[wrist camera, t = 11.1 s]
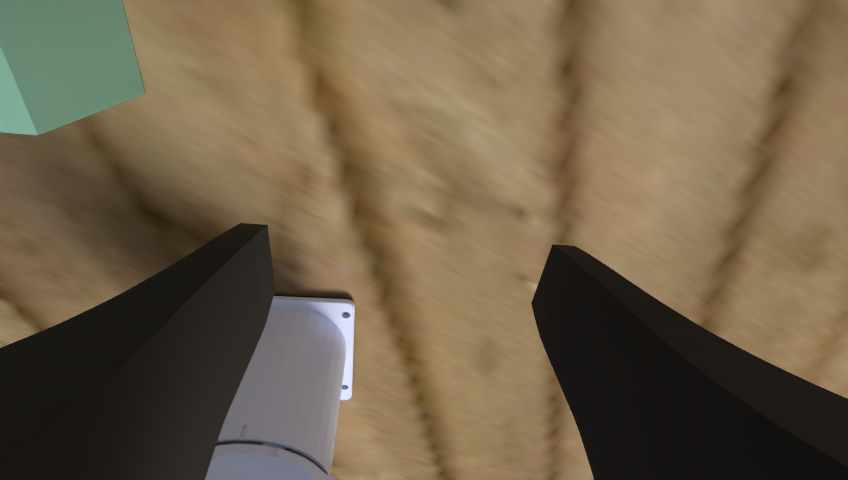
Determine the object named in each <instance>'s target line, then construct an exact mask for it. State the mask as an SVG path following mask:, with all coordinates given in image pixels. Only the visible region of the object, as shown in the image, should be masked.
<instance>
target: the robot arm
mask: <svg viewBox="0 0 848 480" xmlns="http://www.w3.org/2000/svg"><path fill="white" fill-rule="evenodd" d="M274 292H275V288H274V279H273V270H272V261H271V252H270V244H269V235H268V226H267V225H259V224H245V223H240V224H239V225H237V226H235V227H233V228H231V229H230V230H228V231H226V232H225V233H223V234H221V235H220V236H218V237H217V238H215V239H213V240H212V241H210V242H209V243H207V244H205V245H204V246H202V247H201V248H199V249H197V250H196V251H194V252H193V253H191V254H189V255H188V256H186V257H184V258H183V259H181V260H180V261H178V262H176V263H175V264H173V265H171V266H170V267H168V268H166V269H164V270H163V271H161V272H159V273H157V274H156V275H154V276H152V277H150V278H148V279H147V280H145V281H143V282H141V283H139V284H138V285H136V286H134V287H132V288H131V289H129V290H127V291H125V292H123V293H122V294H120V295H118V296H116V297H114V298H112V299H110V300H108V301H106V302H104V303H102V304H100V305H98V306H96V307H94V308H92V309H90V310H88V311H85V312H83V313H81V314H79V315H77V316H75V317H73V318H70V319H68V320H66V321H64V322H62V323H60V324H57V325H55V326H53V327H51V328H48V329H46V330H44V331H41V332H39V333H36V334H34V335H31V336H29V337H27V338H24V339H22V340H19V341H17V342H14V343H12V344H9V345H7V346H4V347H2V348H0V480H341V479H339V478H335V477H332V476H330V474H331V466H332V458H333V451H334V443H335V436H336V428H337V420H338V413H339V405H340V400H347V399H350V398H351V396H352V376H353V346H354V316H355V304H354V302H353V301H351V300H348V299H329V298H307V297H285V296H274ZM531 304H532V308H533V312H534V316H535V320H536V324H537V328H538V331H539V335H540V338H541V340H542V343H543V345H544V348H545V350H546V353H547V355H548V357H549V360H550V362H551V365H552V367H553V369H554V372H555V374H556V376H557V379H558V381H559V383H560V386H561V388H562V390H563V393H564V395H565V397H566V400H567V402H568V404H569V407H570V409H571V411H572V414H573V416H574V419H575V422H576V424H577V427H578V429H579V432H580V435H581V438H582V441H583V445H584V448H585V451H586V454H587V457H588V461H589V464H590V467H591V470H592V473H593V477H594V480H848V399H847V398H844V397H842V396H840V395H838V394H835V393H833V392H831V391H828V390H826V389H824V388H821V387H819V386H817V385H815V384H812V383H810V382H808V381H806V380H804V379H802V378H800V377H798V376H795V375H793V374H791V373H789V372H787V371H785V370H783V369H781V368H778V367H776V366H774V365H772V364H770V363H768V362H766V361H764V360H762V359H760V358H758V357H756V356H754V355H752V354H750V353H748V352H746V351H744V350H742V349H741V348H739V347H737V346H735V345H733V344H731V343H729V342H728V341H726V340H724V339H722V338H720V337H718V336H716V335H715V334H713V333H711V332H709V331H708V330H706V329H704V328H702V327H701V326H699V325H697V324H695V323H694V322H692V321H690V320H689V319H687V318H686V317H684V316H682V315H681V314H679V313H677V312H676V311H674V310H673V309H671V308H669V307H668V306H666V305H665V304H663V303H662V302H660V301H658V300H657V299H655V298H654V297H652V296H651V295H649V294H648V293H646V292H645V291H643V290H642V289H640V288H639V287H637V286H636V285H634V284H633V283H631V282H630V281H628V280H627V279H625V278H624V277H622V276H621V275H620V274H618V273H617V272H615V271H614V270H612V269H611V268H609V267H608V266H606V265H605V264H603V263H602V262H600V261H599V260H597V259H596V258H594V257H593V256H591V255H589V254H588V253H586V252H585V251H583V250H581V249H579V248H577V247H575V246H567V245H552V248H551V250H550V253H549V256H548V259H547V261H546V264H545V267H544V270H543V273H542V275H541V278H540V281H539V284H538V287H537V289H536V292H535V295H534V298H533V300H532V303H531ZM344 312H348V313H349V314H344Z"/></svg>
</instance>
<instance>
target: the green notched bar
mask: <svg viewBox="0 0 848 480" xmlns="http://www.w3.org/2000/svg"><path fill="white" fill-rule="evenodd" d="M144 94H145V90H144V86H143V83H142V79H141V75H140V71H139V67H138V63H137V59H136V55H135V51H134V47H133V43H132V39H131V35H130V31H129V28H128V24H127V20H126V16H125V12H124V8H123V4H122V0H0V132H4V133H16V134H27V135H40V134H43V133H46V132H48V131H51V130H53V129H56V128H59V127H61V126H64V125H66V124H69V123H72V122H74V121H77V120H79V119H82V118H84V117H87V116H90V115H92V114H95V113H97V112H100V111H103V110H105V109H108V108H110V107H113V106H115V105H118V104H121V103H123V102H126V101H128V100H131V99H134V98H136V97H139V96H141V95H144Z"/></svg>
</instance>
